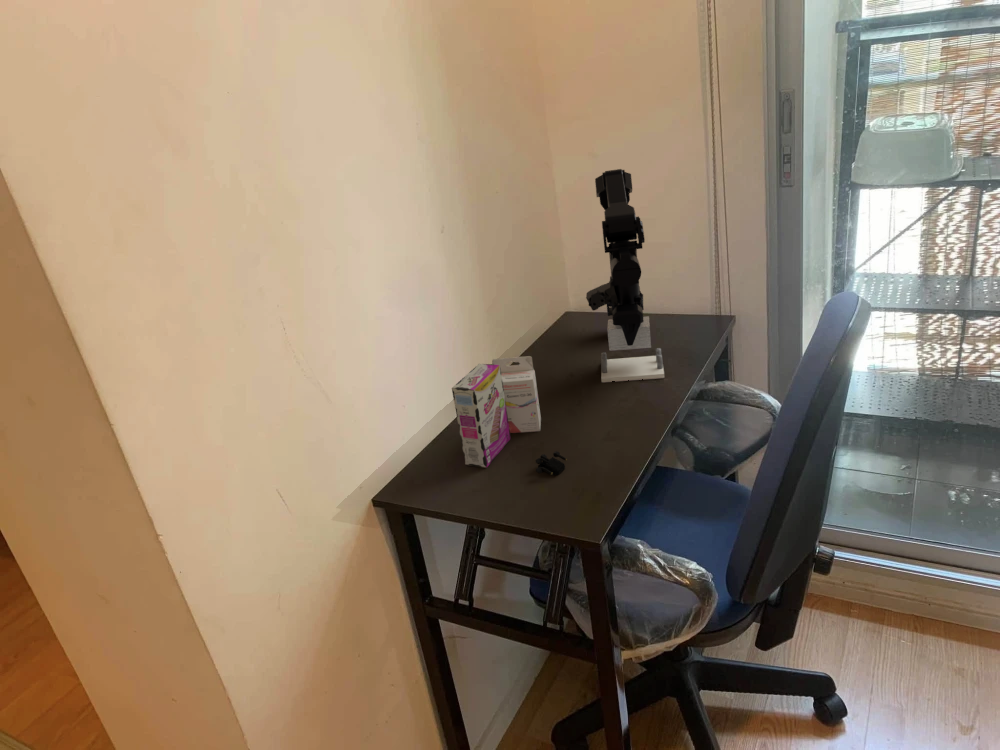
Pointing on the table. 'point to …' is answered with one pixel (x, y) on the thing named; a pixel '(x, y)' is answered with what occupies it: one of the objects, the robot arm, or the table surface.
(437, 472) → the table surface
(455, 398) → the candy bar box
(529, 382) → the ink cartridge box
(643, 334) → the block
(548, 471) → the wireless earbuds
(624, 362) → the pin tray
